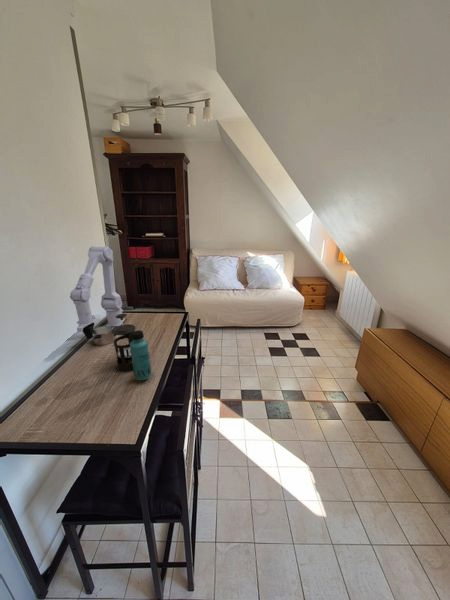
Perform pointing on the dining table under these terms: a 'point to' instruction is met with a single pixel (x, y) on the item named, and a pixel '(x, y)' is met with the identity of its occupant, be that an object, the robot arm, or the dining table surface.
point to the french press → (124, 350)
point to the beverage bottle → (140, 356)
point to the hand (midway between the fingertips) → (89, 338)
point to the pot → (102, 335)
